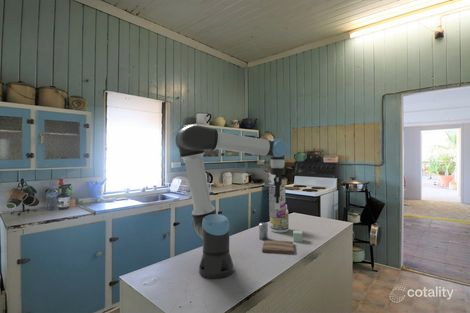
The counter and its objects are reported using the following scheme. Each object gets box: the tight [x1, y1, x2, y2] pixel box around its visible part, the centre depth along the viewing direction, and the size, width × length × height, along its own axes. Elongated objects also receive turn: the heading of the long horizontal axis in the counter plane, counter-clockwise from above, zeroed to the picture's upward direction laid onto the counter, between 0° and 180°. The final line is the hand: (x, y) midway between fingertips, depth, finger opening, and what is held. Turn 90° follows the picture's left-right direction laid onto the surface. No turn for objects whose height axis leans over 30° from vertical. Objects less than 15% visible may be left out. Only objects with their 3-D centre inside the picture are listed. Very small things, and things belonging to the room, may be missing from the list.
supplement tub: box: [269, 204, 290, 234], centre depth 169 cm, size 12×12×17 cm
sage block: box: [292, 230, 303, 243], centre depth 149 cm, size 5×5×5 cm
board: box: [261, 239, 295, 255], centre depth 137 cm, size 14×16×2 cm
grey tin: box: [258, 222, 269, 241], centre depth 153 cm, size 5×5×9 cm
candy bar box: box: [268, 184, 287, 218], centre depth 140 cm, size 11×5×16 cm, turn 144°
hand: (277, 207), depth 140 cm, fingers closed on candy bar box, 12 cm apart
